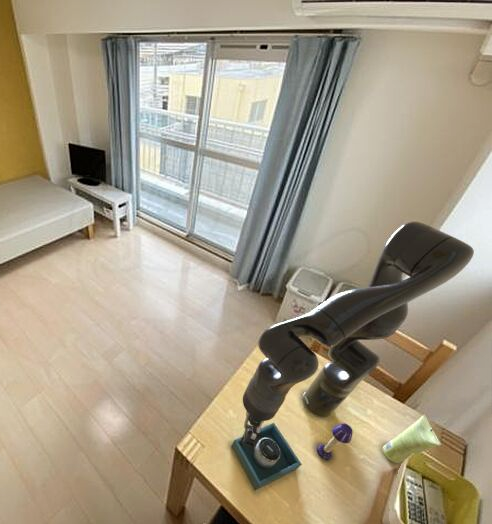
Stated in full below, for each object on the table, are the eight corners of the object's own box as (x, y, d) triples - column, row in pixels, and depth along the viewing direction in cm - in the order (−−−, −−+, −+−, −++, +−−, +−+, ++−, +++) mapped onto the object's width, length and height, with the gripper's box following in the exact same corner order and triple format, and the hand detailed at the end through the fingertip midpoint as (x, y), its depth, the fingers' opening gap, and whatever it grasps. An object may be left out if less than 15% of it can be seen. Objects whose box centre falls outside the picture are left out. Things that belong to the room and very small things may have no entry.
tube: (406, 458, 90) (449, 433, 78) (399, 469, 88) (441, 445, 75) (386, 441, 94) (424, 414, 81) (378, 451, 92) (416, 425, 79)
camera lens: (266, 475, 87) (274, 466, 82) (248, 456, 90) (254, 447, 85) (277, 458, 90) (285, 449, 85) (259, 441, 93) (265, 431, 88)
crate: (269, 429, 96) (273, 422, 93) (295, 470, 88) (302, 464, 84) (230, 446, 93) (234, 440, 89) (254, 491, 84) (259, 485, 80)
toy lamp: (311, 446, 93) (333, 424, 82) (322, 440, 94) (345, 417, 83) (324, 462, 89) (349, 441, 79) (335, 455, 91) (361, 434, 80)
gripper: (280, 434, 59) (259, 461, 70) (283, 373, 70) (265, 405, 80) (242, 419, 62) (227, 447, 72) (250, 362, 72) (237, 394, 82)
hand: (247, 425), depth 76 cm, fingers open, 8 cm apart
